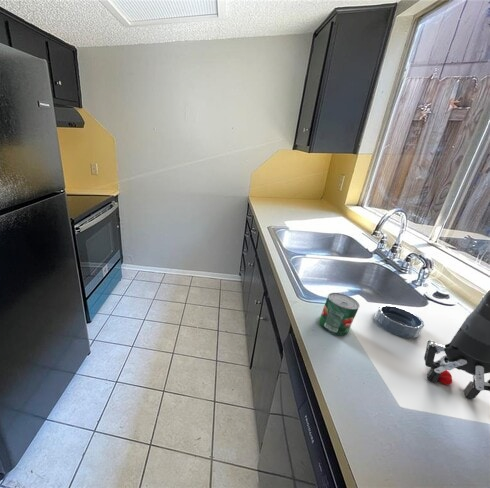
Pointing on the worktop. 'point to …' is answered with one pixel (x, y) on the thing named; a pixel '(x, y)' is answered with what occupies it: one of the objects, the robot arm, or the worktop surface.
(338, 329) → the canned tomato
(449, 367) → the robot arm
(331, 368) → the worktop surface
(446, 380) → the strawberry
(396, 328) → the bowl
